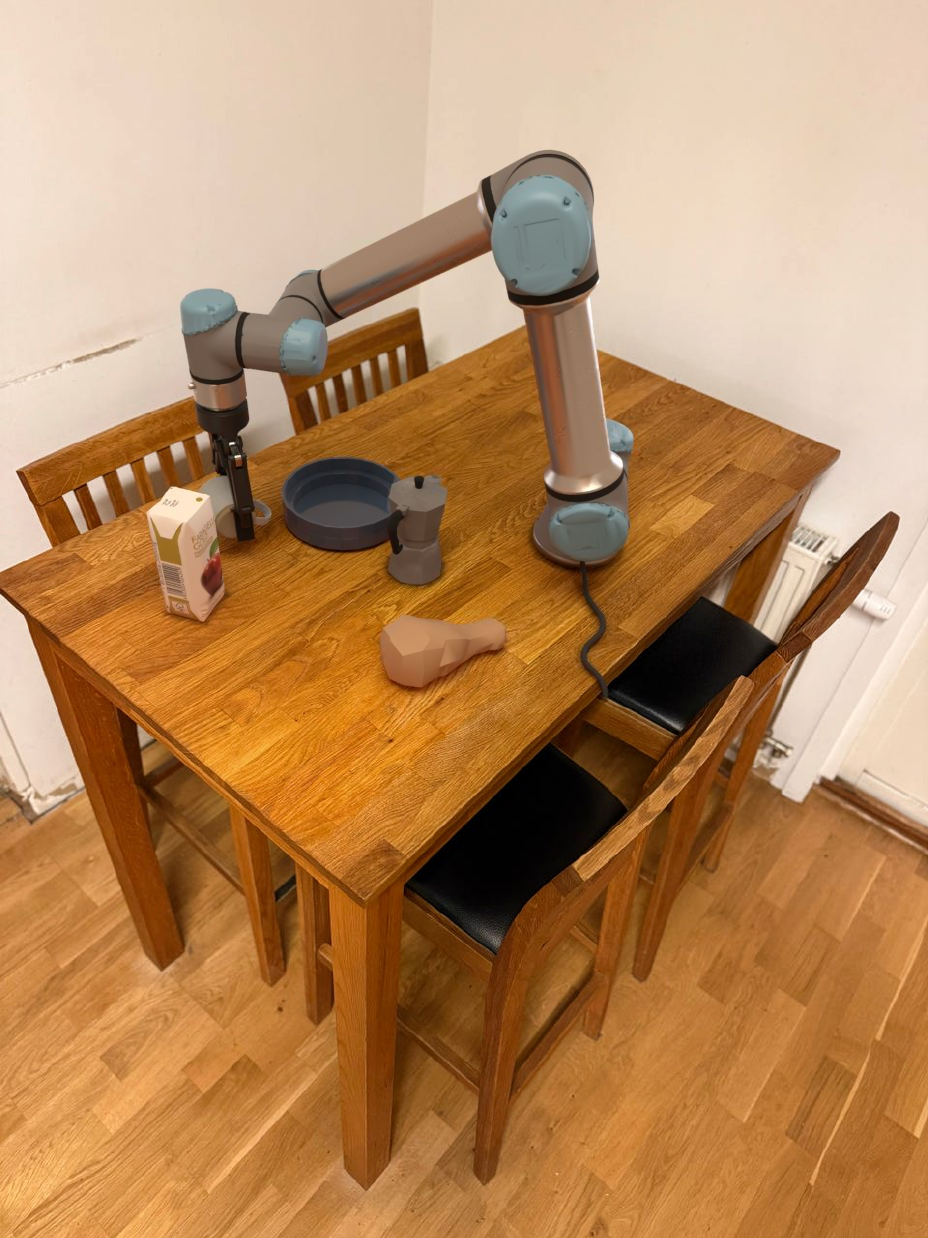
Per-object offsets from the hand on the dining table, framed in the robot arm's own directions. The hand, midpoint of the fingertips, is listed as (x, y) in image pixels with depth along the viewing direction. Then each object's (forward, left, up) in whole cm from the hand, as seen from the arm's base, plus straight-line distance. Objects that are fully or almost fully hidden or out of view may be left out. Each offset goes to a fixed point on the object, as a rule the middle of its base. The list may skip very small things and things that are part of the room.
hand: (238, 523), depth 145 cm
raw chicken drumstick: (-37, -20, -4) cm, 42 cm away
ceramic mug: (0, 0, -1) cm, 1 cm away
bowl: (+1, -19, -4) cm, 19 cm away
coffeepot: (-17, -24, -4) cm, 29 cm away
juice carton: (-12, +10, -4) cm, 16 cm away
